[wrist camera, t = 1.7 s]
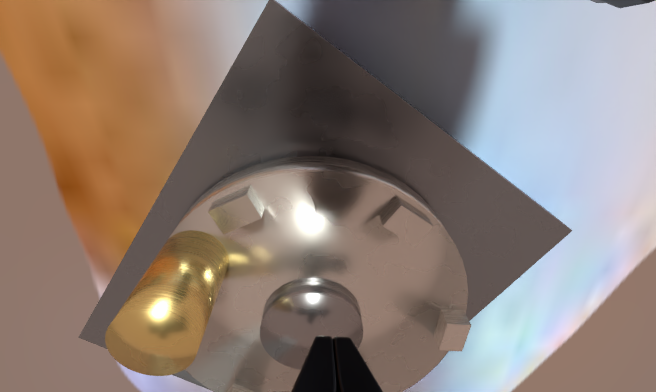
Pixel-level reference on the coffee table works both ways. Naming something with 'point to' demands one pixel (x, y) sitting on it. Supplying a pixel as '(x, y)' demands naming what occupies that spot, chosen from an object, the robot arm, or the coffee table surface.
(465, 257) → the base plate
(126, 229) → the coffee table surface
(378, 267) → the silver round platform
